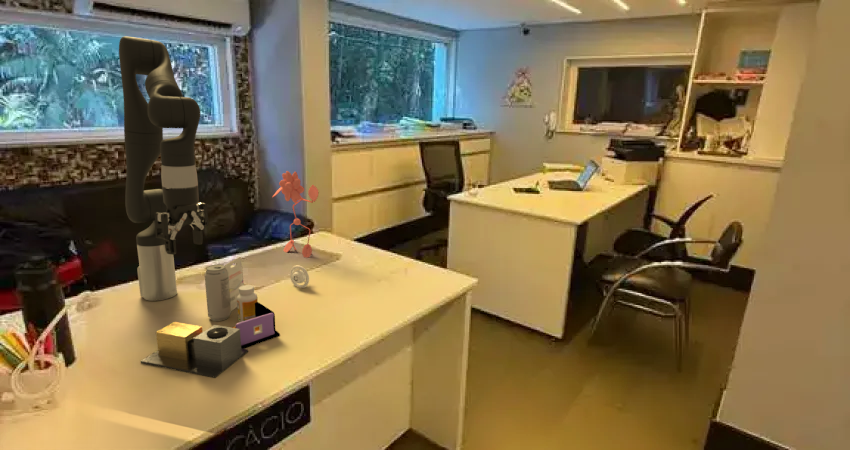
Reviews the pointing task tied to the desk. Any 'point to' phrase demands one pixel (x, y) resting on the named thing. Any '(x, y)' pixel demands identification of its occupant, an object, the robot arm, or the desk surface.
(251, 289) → the supplement bottle
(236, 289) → the ink cartridge box
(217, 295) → the energy drink can
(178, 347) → the brass open box
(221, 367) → the grey knob base
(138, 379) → the desk surface
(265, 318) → the toy room diorama
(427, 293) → the desk surface
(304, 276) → the ring around a ball
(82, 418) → the desk surface
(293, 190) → the flower sculpture
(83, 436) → the desk surface
